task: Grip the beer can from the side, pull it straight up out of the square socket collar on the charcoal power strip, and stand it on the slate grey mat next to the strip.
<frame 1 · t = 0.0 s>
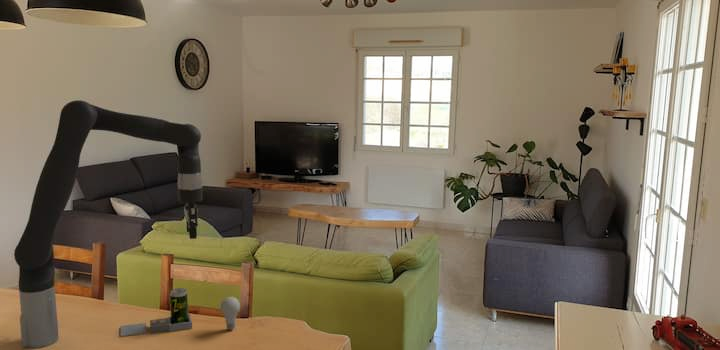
hand: (191, 235, 181), 29 cm above the table, tool pointing down, fingers open, 8 cm apart
power strip: (179, 325, 180), on the table
slate mat: (133, 330, 177), on the table
lightbulb: (230, 330, 178), on the table
beer can: (179, 326, 180), resting in power strip
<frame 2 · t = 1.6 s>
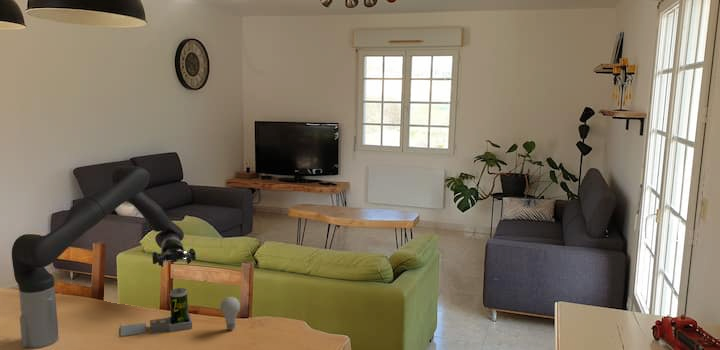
hand: (175, 262, 187), 18 cm above the table, tool horizontal, fingers open, 8 cm apart
nothing on the table moved.
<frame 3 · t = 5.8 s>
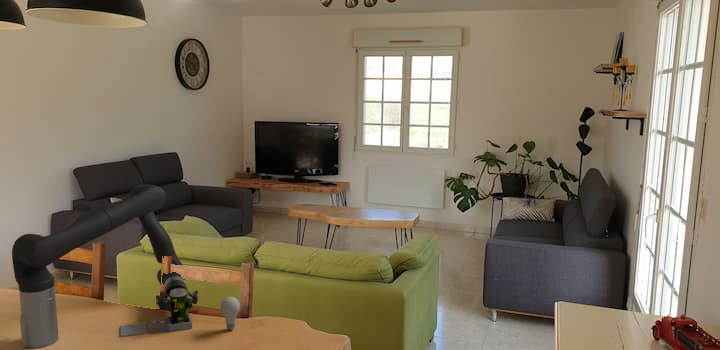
hand: (179, 307, 177), 7 cm above the table, tool horizontal, fingers closed on beer can, 5 cm apart
beer can: (179, 326, 180), resting in power strip, touching gripper
everything else where it was.
when the fingers open (9 cm above the table, at t = 11.5 s): beer can drops 1 cm, resting on slate mat.
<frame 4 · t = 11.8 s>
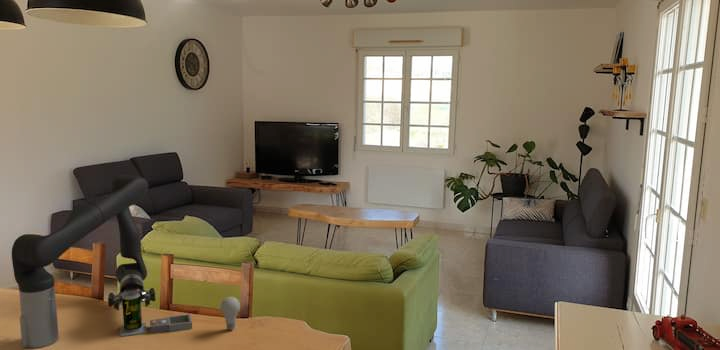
hand: (132, 305, 173), 9 cm above the table, tool horizontal, fingers open, 8 cm apart
beer can: (133, 329, 177), resting on slate mat
everything else where it was.
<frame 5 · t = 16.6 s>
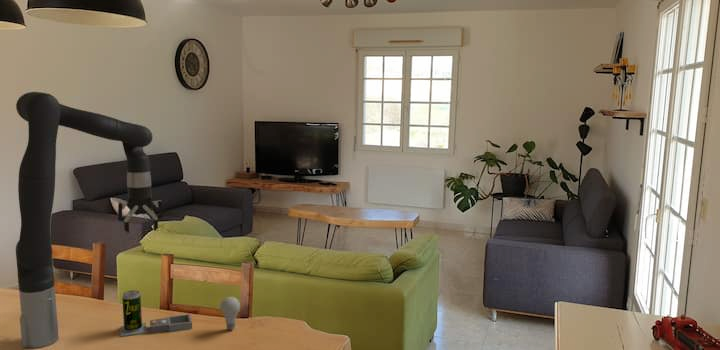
hand: (141, 231, 189), 28 cm above the table, tool pointing down, fingers open, 8 cm apart
nothing on the table moved.
at the end: beer can inside the target area (0.2 cm from its centre), resting on slate mat; beer can tilted 0°; the gripper is holding nothing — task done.
